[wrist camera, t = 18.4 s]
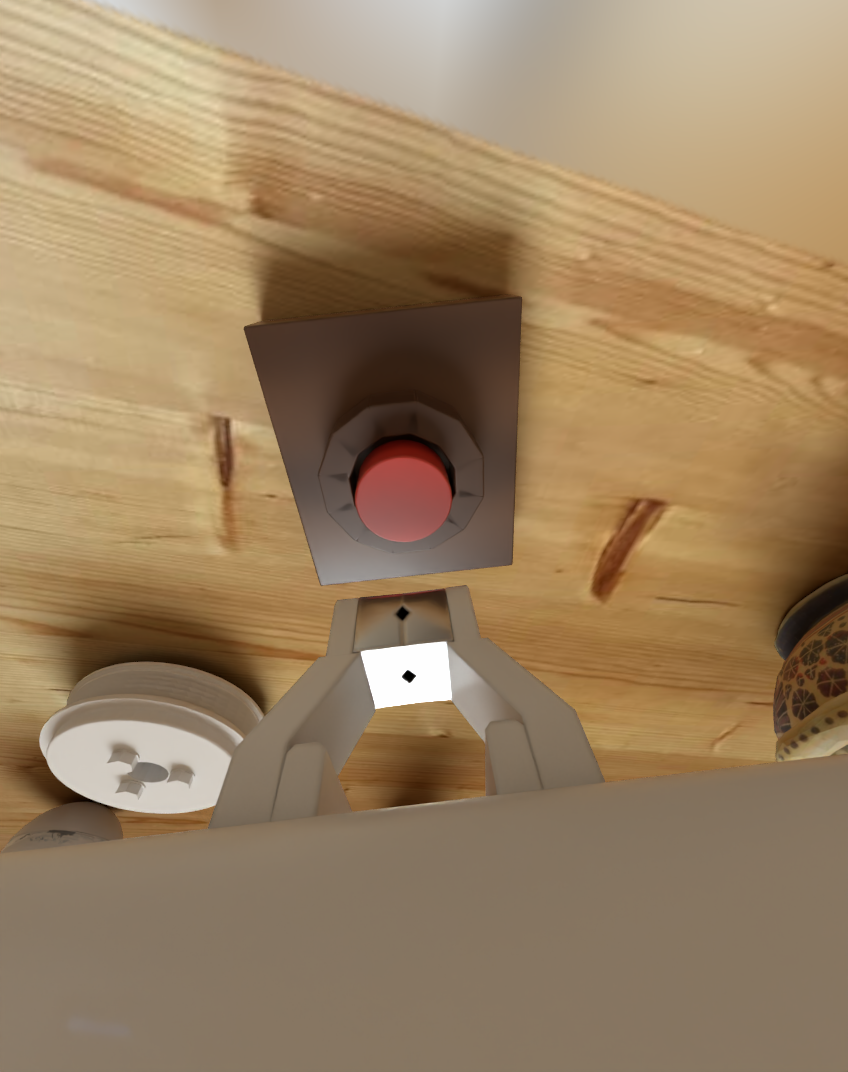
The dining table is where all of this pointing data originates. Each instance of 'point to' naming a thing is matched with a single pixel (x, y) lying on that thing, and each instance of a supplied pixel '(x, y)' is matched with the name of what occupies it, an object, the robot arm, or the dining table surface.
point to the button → (403, 491)
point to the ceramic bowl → (813, 676)
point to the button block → (397, 425)
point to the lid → (148, 736)
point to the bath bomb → (67, 827)
